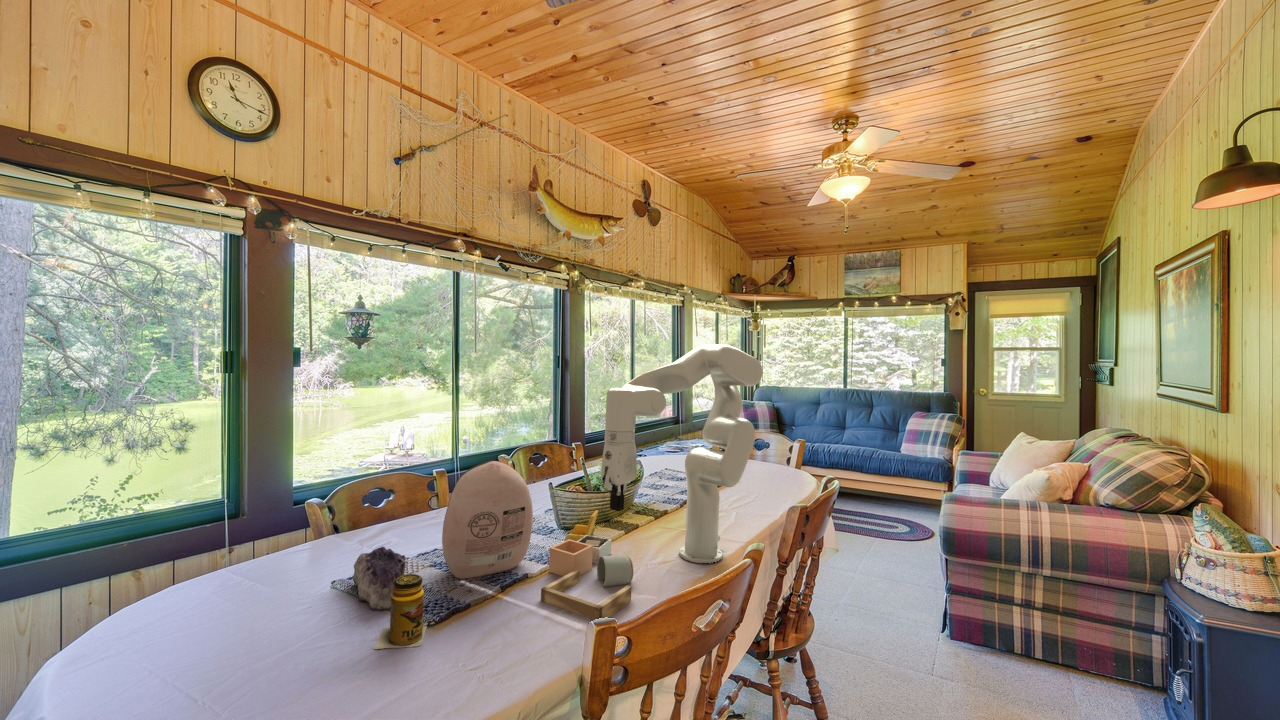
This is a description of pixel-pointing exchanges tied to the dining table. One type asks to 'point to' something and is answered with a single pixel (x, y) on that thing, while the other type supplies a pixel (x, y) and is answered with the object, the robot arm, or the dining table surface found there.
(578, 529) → the yellow toy chair
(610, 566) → the ceramic mug
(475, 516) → the packaged food
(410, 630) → the condiment
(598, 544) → the walnut cube
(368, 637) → the dining table surface
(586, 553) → the terracotta planter
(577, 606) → the frame
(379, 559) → the geode
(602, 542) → the grey tin
